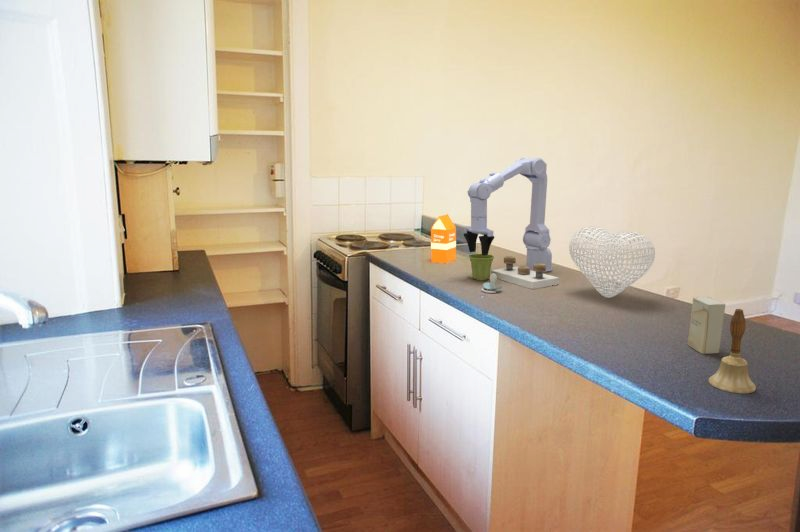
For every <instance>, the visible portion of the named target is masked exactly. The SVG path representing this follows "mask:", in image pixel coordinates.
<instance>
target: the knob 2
mask: <svg viewBox="0 0 800 532" xmlns="http://www.w3.org/2000/svg"><path fill="white" fill-rule="evenodd" d="M533 271H536V278H542V277H543V274H544V272H543V271H546V265H545V264H542V263H536V264H534V265H533Z"/></svg>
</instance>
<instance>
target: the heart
mask: <svg viewBox="0 0 800 532" xmlns="http://www.w3.org/2000/svg"><path fill="white" fill-rule="evenodd" d="M598 242H599V243H598ZM592 245H593V247H592ZM637 245H638V247H637ZM641 245H642V246H641ZM632 246H634V248H633V247H632ZM568 249H569V255H570V258H571V260H572V261H573V263H574V264H575V266H576V267H577V268H578V269H579V271H580V272H581V273H582V275H584V277H585V278H586V279H587V280H588V281H589V282H590V284H591V285H592V286H593V288H594V289H595V290H596V291H597V292H598V293H599V294H600V295H601V296H603V298H606V299H607V298H608V299H609V298H610V299H611V298H613V297H615V296H617V295H619V294H621V292H624V290H626V289H627V288H628V287H630V286H631V285H632V284H634V283H635V282H637V281H638V280H639V279H641V278H642V277H643V276H644V275H645V274H646V273H647V272H648V271H649V270H650V268H651V267H652V265H653V263H654V261H655V258H656V257H655V255H656V250H655V245H654V244H653V242H652V240H651V239H650V238H649V237H648V236H647V235H645V234H643V233H641V232H638V231H637V232H636V231H621V232H617V233H613V232H611V231H610V230H608V229H606V228H603V227H600V226H593V225H591V226H587V227H581V229H578V231H576V232H575V233H574V234H573V235H572V237H571V239H570V241H569V246H568ZM581 253H582V254H581ZM589 256H590V257H589ZM593 256H594V257H593ZM606 256H607V257H606ZM610 256H611V257H610ZM625 256H626V258H625ZM629 256H631V257H629ZM600 257H601V258H600ZM593 261H594V262H593ZM624 261H626V262H625V263H624ZM629 261H630V263H629ZM610 262H611V263H610ZM634 262H635V263H634ZM614 263H615V264H614ZM623 266H625V267H623ZM628 266H630V267H628ZM637 267H638V268H637ZM626 271H627V272H626Z"/></svg>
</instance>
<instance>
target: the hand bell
mask: <svg viewBox="0 0 800 532" xmlns="http://www.w3.org/2000/svg"><path fill="white" fill-rule="evenodd" d="M744 313H745V312H744V309H741V308H736V309H735V311H734V312H733V315H732V317H731V319H730V325H729V330H730V337H731V345H730V346H731V347H730V355H728V356H724V357H722V358H721V361H720V365H719V368H718V370H717V371H716V372H715V373H714V374H713V375H711V376H709V378H708V383H709V384H710V385H711V386H712V387H713V388H716V389H718V390H720V391H724V392H726V393H727V392H728V393H733V394H738V395H740V394H741V395H742V394H743V395H745V394H751V393H754V392H755V391H756V390H757V387H756V385H755V383H754V382H753V381H752V379H751V378H750V375H749V371H748V370H749V369H748V362H747V360H746V359H745V358H743V357H741V347H742V346H741V345H742V338H743V337H744V334H745V331H746V325H747V323H746V318H745V314H744Z"/></svg>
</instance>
